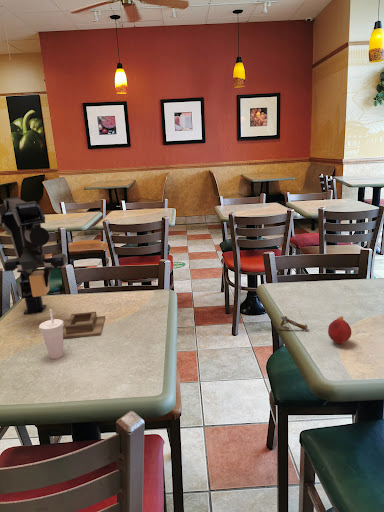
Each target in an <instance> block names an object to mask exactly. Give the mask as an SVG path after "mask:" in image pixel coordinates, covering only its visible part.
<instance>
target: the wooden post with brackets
mask: <svg viewBox="0 0 384 512" xmlns="http://www.w3.org/2000/svg"><path fill="white" fill-rule="evenodd" d="M280 319H281V322H280V324H279V326H278V327H277V328H278V330H279V331H280V330H281V329H282V328H283V329H284V331H287V330H289V329H291V328H290V326H287V325H286V324H290V325H292V326H294V327H297V328H299V329H301V330H302V331H304V330H306V331H307V329H308V328H309V327H308V324H301V323H298V322H297V321H294V320H292V319H290V318H288V316H284V315H283V316H282V315H281V316H280ZM284 325H286V326H284Z"/></svg>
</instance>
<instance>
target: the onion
mask: <svg viewBox="0 0 384 512" xmlns="http://www.w3.org/2000/svg"><path fill="white" fill-rule="evenodd" d="M327 333H328V337H329V339H331V340H332V342H334V343H336V344H337V345H342V344H344V343H346V342H347V341H349V339H350V338H351V337H352V328H351V326H350V324H349V323H348V322H347V321H346V320H344V317H343V316H341V315H340V316H338V317H337V318H336V319H333V321H331V322H330V323H329V325H328V328H327Z"/></svg>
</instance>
